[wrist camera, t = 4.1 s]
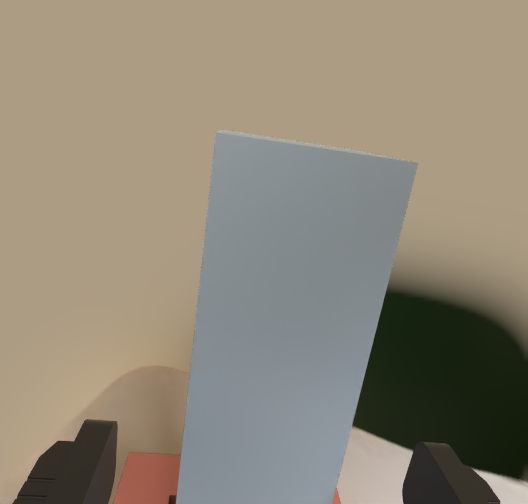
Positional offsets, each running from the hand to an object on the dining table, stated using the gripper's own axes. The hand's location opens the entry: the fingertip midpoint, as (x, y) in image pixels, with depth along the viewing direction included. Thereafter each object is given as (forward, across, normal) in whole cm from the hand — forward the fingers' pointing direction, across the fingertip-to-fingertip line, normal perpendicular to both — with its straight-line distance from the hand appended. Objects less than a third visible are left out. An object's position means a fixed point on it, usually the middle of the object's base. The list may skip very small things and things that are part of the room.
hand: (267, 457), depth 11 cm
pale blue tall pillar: (+3, 0, +12) cm, 12 cm away
